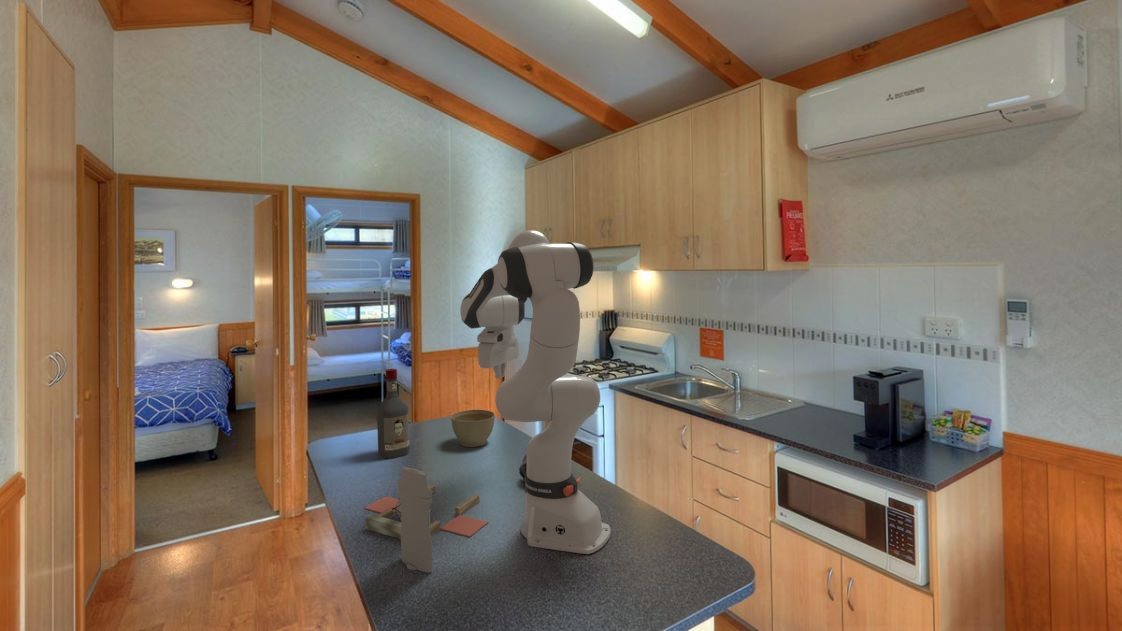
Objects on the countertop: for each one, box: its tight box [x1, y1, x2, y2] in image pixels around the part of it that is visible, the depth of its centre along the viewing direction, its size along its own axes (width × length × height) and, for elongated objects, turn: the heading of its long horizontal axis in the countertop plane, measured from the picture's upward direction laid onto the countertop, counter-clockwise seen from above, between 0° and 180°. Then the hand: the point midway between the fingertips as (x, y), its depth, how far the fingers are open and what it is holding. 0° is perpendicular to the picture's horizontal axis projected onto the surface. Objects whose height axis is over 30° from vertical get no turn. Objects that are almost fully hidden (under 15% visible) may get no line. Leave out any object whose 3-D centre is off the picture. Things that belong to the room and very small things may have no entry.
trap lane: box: [365, 484, 481, 540], centre depth 140 cm, size 17×25×3 cm
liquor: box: [376, 368, 410, 459], centre depth 185 cm, size 9×9×30 cm
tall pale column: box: [397, 466, 434, 574], centre depth 116 cm, size 11×4×22 cm, turn 55°
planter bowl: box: [450, 409, 496, 448], centre depth 197 cm, size 16×16×11 cm
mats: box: [363, 495, 489, 538], centre depth 140 cm, size 35×8×1 cm, turn 64°
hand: (500, 377), depth 165 cm, fingers closed
